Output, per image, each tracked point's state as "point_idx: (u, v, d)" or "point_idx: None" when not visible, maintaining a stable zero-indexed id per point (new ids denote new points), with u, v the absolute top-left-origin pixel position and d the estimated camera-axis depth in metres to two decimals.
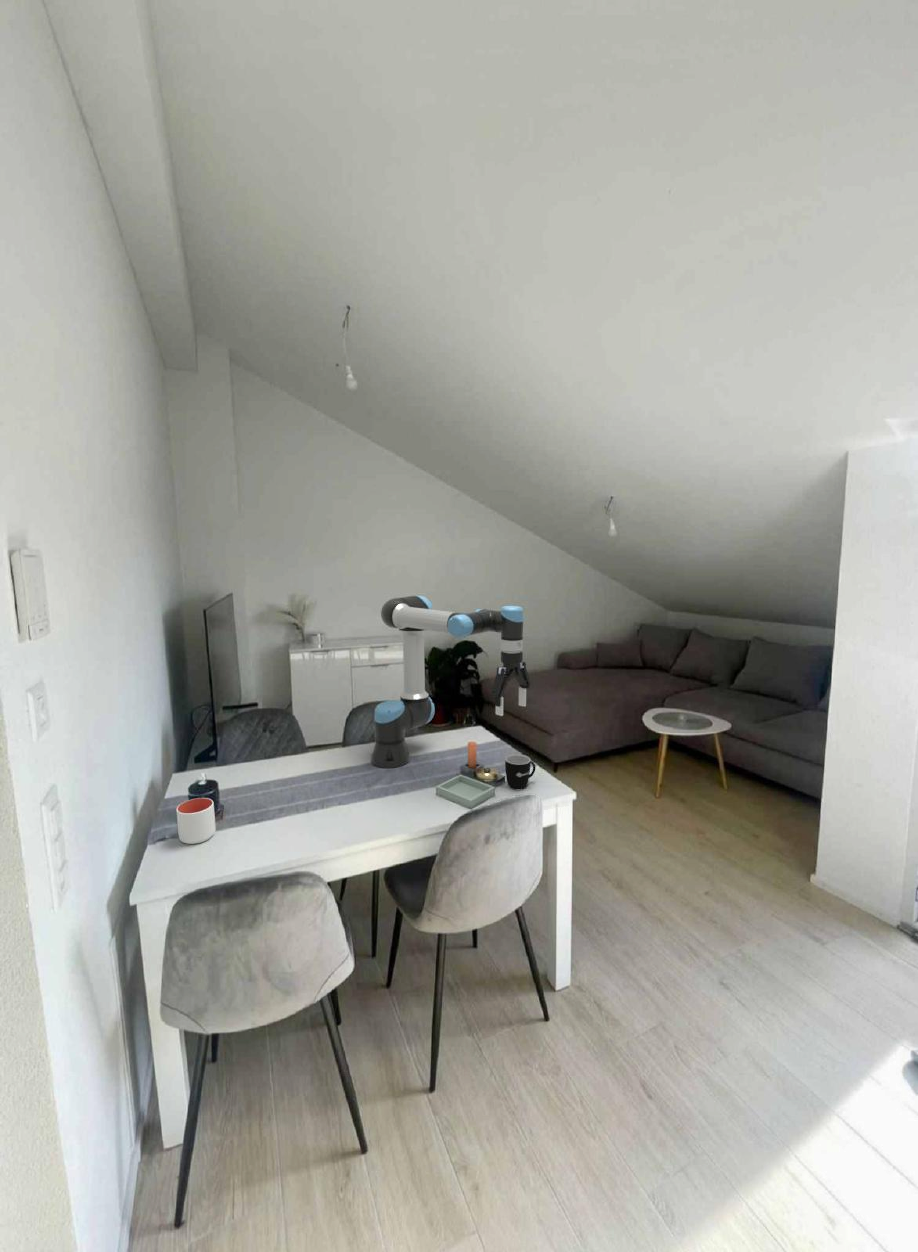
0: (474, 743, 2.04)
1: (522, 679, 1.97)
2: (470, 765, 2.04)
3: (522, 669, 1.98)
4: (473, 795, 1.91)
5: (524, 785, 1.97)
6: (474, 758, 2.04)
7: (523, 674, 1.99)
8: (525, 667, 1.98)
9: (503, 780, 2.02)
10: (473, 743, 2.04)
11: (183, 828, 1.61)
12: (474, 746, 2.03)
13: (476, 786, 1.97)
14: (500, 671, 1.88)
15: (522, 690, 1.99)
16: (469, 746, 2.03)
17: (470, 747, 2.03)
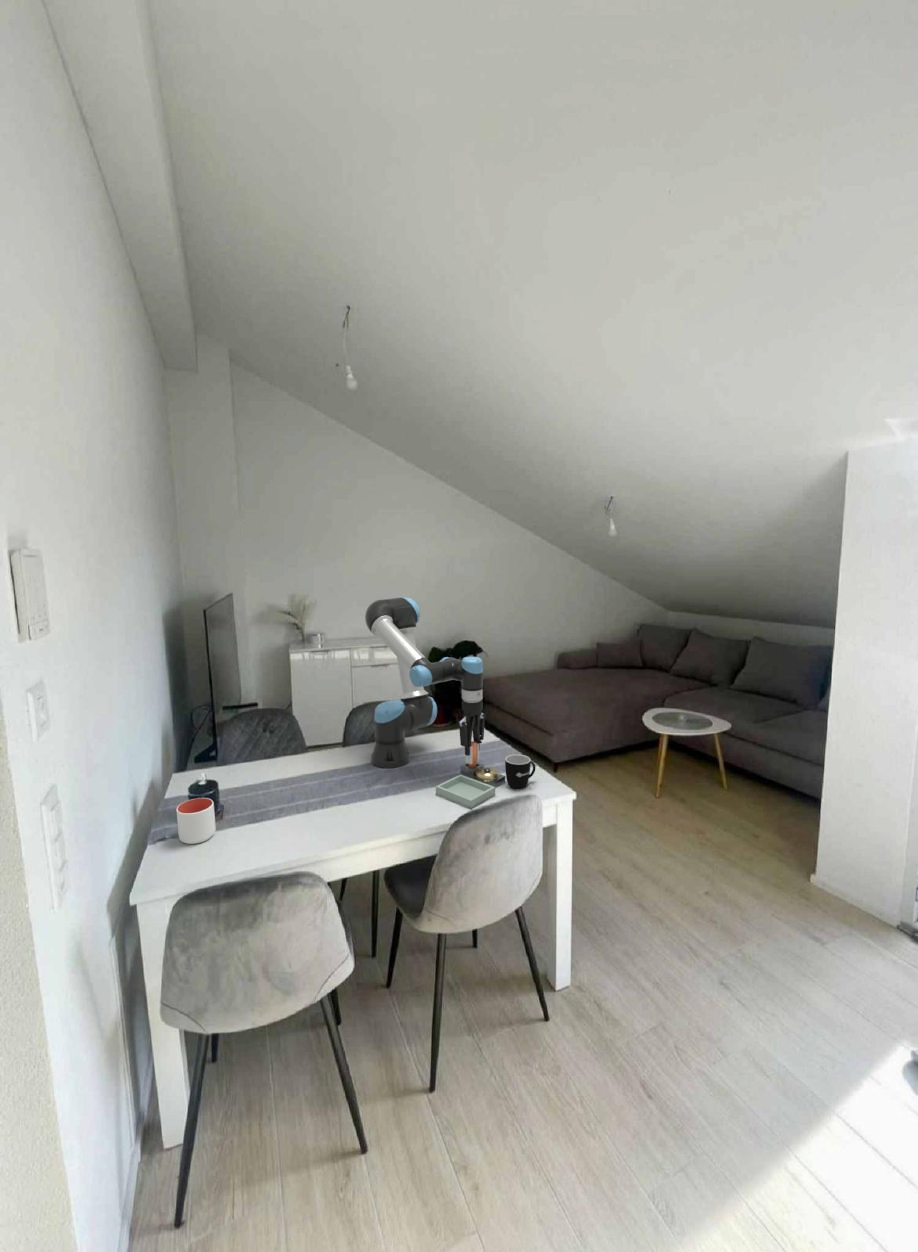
0: (474, 743, 2.04)
1: (478, 731, 2.04)
2: (470, 765, 2.04)
3: (481, 720, 2.06)
4: (473, 795, 1.91)
5: (524, 785, 1.97)
6: (474, 758, 2.04)
7: (480, 726, 2.06)
8: (484, 719, 2.06)
9: (503, 780, 2.02)
10: (473, 743, 2.04)
11: (183, 828, 1.61)
12: (474, 746, 2.03)
13: (476, 786, 1.97)
14: (462, 725, 1.98)
15: None
16: None
17: None
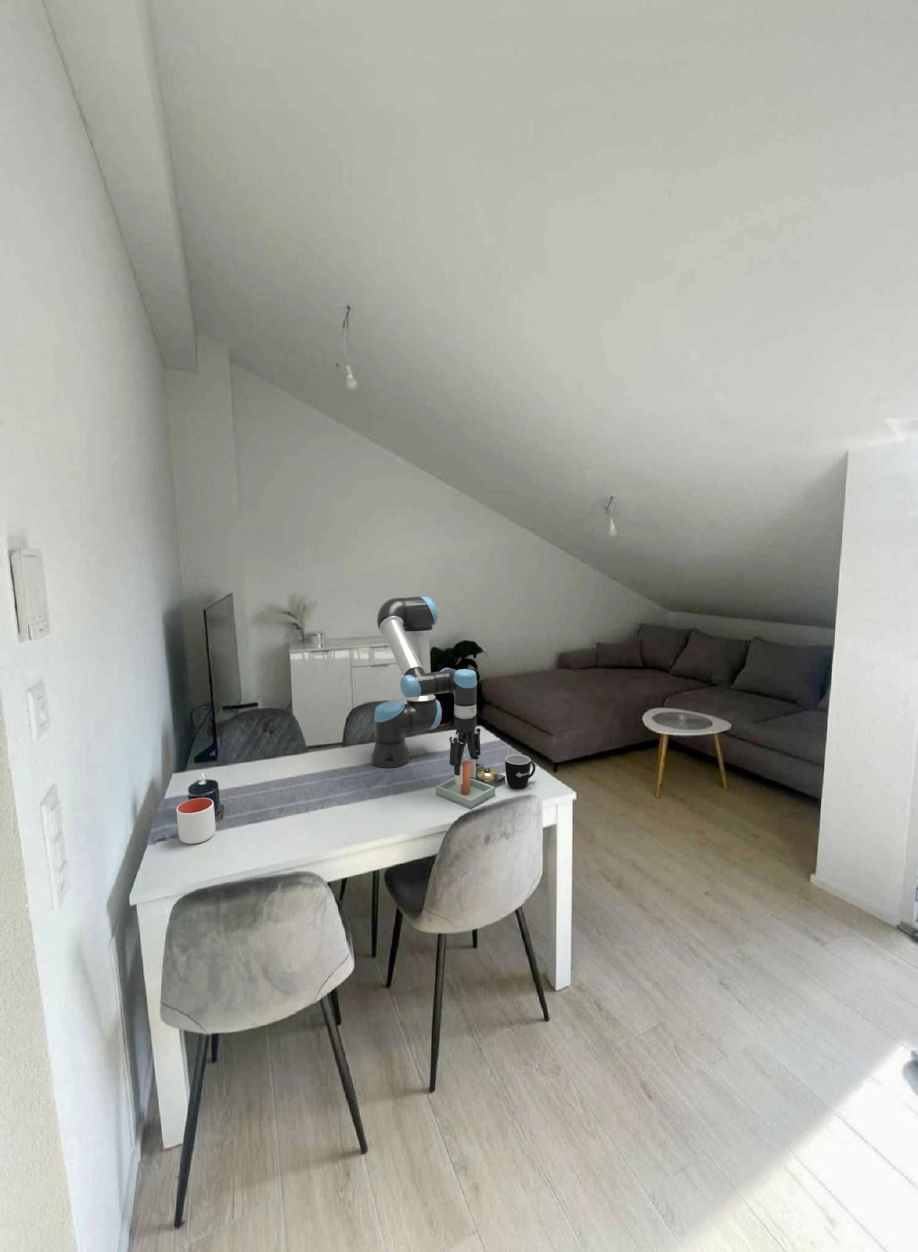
0: (468, 762, 1.91)
1: (473, 747, 1.92)
2: (463, 786, 1.91)
3: (475, 735, 1.93)
4: (473, 795, 1.91)
5: (524, 785, 1.97)
6: (468, 779, 1.91)
7: (475, 741, 1.94)
8: (479, 734, 1.93)
9: (503, 780, 2.02)
10: (467, 762, 1.91)
11: (183, 828, 1.61)
12: (468, 766, 1.90)
13: (476, 786, 1.97)
14: (453, 742, 1.84)
15: (471, 761, 1.93)
16: (463, 766, 1.90)
17: (464, 767, 1.90)
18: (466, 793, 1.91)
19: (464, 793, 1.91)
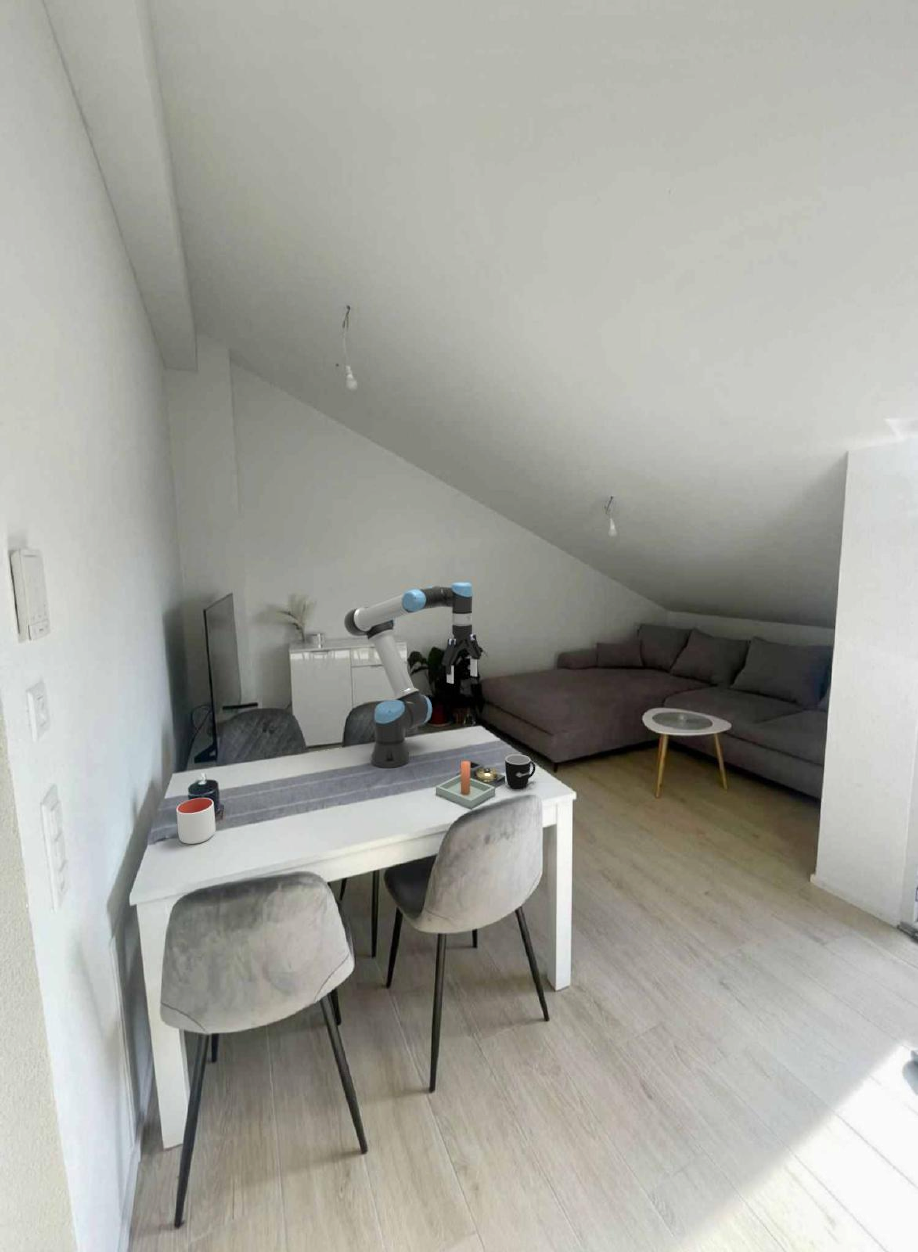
0: (467, 763, 1.91)
1: (473, 650, 2.13)
2: (463, 786, 1.91)
3: (473, 641, 2.14)
4: (473, 795, 1.91)
5: (524, 785, 1.97)
6: (467, 779, 1.91)
7: (474, 646, 2.15)
8: None
9: (503, 780, 2.02)
10: (466, 763, 1.91)
11: (183, 828, 1.61)
12: (467, 766, 1.90)
13: (476, 786, 1.97)
14: (451, 642, 2.04)
15: (473, 661, 2.15)
16: (462, 766, 1.90)
17: (463, 767, 1.90)
18: (466, 793, 1.91)
19: (464, 793, 1.91)
